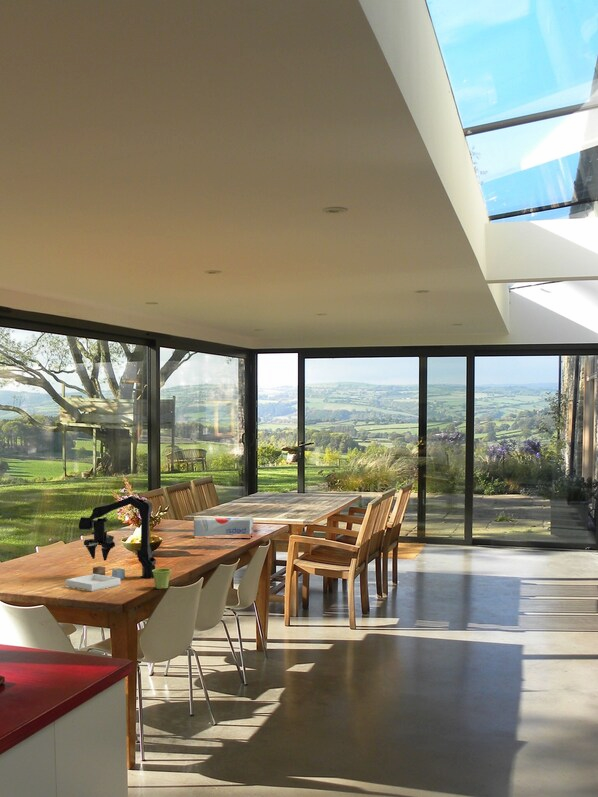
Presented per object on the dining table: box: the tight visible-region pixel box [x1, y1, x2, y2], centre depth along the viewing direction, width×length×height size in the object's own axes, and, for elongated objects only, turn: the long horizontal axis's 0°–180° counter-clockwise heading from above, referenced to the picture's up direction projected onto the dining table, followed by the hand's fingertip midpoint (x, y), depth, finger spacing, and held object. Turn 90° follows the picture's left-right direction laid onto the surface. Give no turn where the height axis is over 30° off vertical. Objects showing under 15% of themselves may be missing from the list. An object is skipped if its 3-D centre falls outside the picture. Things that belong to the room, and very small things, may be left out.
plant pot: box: [152, 568, 172, 590], centre depth 385 cm, size 9×9×9 cm
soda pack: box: [193, 517, 254, 537], centre depth 546 cm, size 41×13×14 cm, turn 82°
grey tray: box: [64, 573, 121, 592], centre depth 389 cm, size 20×18×4 cm
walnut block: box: [92, 565, 106, 576], centre depth 412 cm, size 4×4×5 cm
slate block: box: [111, 567, 126, 581], centre depth 406 cm, size 4×4×5 cm
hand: (99, 559), depth 413 cm, fingers open, 9 cm apart
